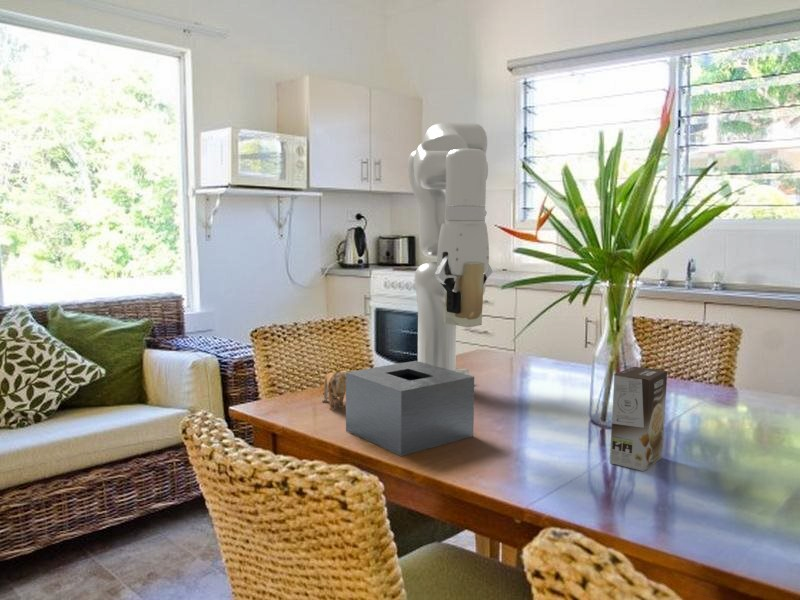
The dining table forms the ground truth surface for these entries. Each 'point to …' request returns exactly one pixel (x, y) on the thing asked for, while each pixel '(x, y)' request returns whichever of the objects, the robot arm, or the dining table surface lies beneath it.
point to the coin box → (409, 406)
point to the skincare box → (469, 297)
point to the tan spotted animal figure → (335, 388)
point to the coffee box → (638, 417)
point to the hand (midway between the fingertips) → (463, 310)
